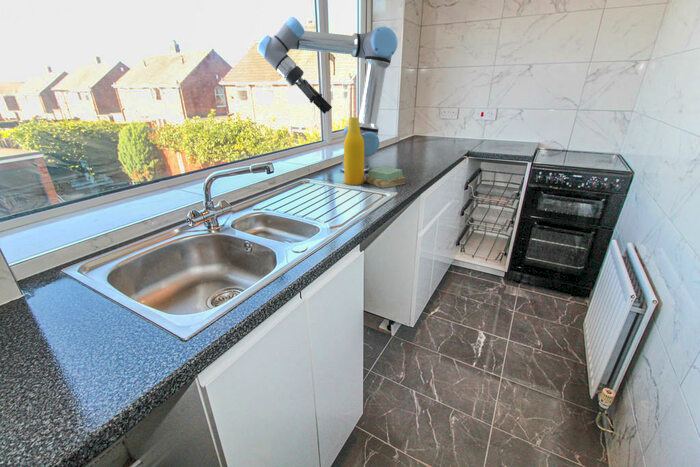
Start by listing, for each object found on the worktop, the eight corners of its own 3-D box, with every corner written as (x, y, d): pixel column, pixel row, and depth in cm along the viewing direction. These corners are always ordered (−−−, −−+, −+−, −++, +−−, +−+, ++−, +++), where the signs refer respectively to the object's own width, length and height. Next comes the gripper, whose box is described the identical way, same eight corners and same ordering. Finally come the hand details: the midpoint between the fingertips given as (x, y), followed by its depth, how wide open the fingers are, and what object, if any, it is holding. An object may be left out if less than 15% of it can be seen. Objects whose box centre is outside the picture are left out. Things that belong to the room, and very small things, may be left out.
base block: (365, 181, 155) (365, 175, 154) (387, 178, 161) (388, 172, 160) (382, 188, 145) (382, 181, 144) (405, 183, 151) (405, 177, 150)
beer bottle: (366, 184, 151) (367, 117, 139) (346, 186, 149) (345, 118, 137) (361, 179, 159) (361, 116, 147) (342, 181, 157) (341, 117, 145)
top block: (368, 176, 152) (368, 170, 151) (383, 172, 159) (383, 166, 158) (387, 180, 145) (387, 174, 144) (402, 176, 152) (402, 169, 151)
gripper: (291, 80, 148) (325, 115, 154) (278, 78, 125) (318, 119, 131) (302, 66, 146) (336, 102, 151) (290, 62, 123) (331, 105, 128)
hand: (328, 110), depth 141 cm, fingers open, 13 cm apart
